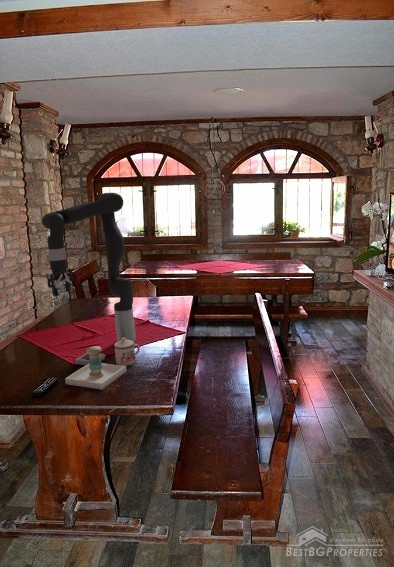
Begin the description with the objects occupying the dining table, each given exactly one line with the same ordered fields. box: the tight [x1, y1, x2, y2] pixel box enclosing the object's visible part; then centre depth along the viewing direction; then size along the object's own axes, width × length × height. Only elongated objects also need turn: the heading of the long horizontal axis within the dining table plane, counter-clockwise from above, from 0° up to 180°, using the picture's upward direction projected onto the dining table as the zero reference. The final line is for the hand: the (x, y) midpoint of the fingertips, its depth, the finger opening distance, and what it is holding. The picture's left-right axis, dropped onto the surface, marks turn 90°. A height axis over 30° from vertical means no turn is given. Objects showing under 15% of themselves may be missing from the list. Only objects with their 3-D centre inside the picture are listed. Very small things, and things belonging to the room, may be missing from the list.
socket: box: [74, 353, 106, 366], centre depth 209 cm, size 10×10×2 cm
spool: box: [85, 345, 104, 379], centre depth 189 cm, size 6×6×12 cm
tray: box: [64, 362, 127, 390], centre depth 190 cm, size 18×18×2 cm
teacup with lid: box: [113, 338, 141, 367], centre depth 205 cm, size 12×9×12 cm
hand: (62, 293), depth 204 cm, fingers open, 8 cm apart
